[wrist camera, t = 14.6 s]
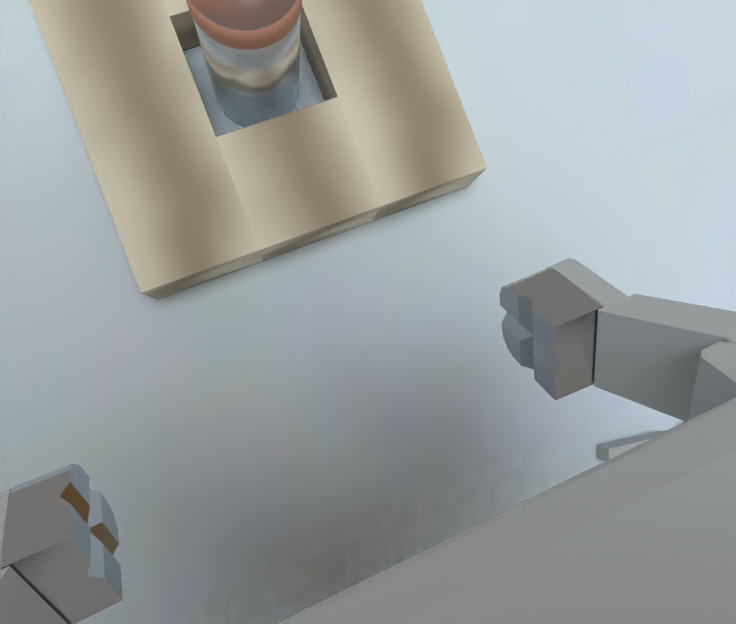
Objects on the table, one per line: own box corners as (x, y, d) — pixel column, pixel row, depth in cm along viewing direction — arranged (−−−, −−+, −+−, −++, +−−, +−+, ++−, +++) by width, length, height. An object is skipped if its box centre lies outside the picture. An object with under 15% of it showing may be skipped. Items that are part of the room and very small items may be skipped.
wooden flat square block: (156, 299, 28) (140, 292, 25) (35, -19, 29) (5, -63, 26) (468, 186, 31) (487, 168, 28) (352, -109, 31) (358, -158, 28)
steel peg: (231, 141, 29) (205, 47, 20) (200, 62, 29) (161, -66, 20) (311, 114, 30) (320, 12, 21) (281, 36, 30) (277, -98, 21)
